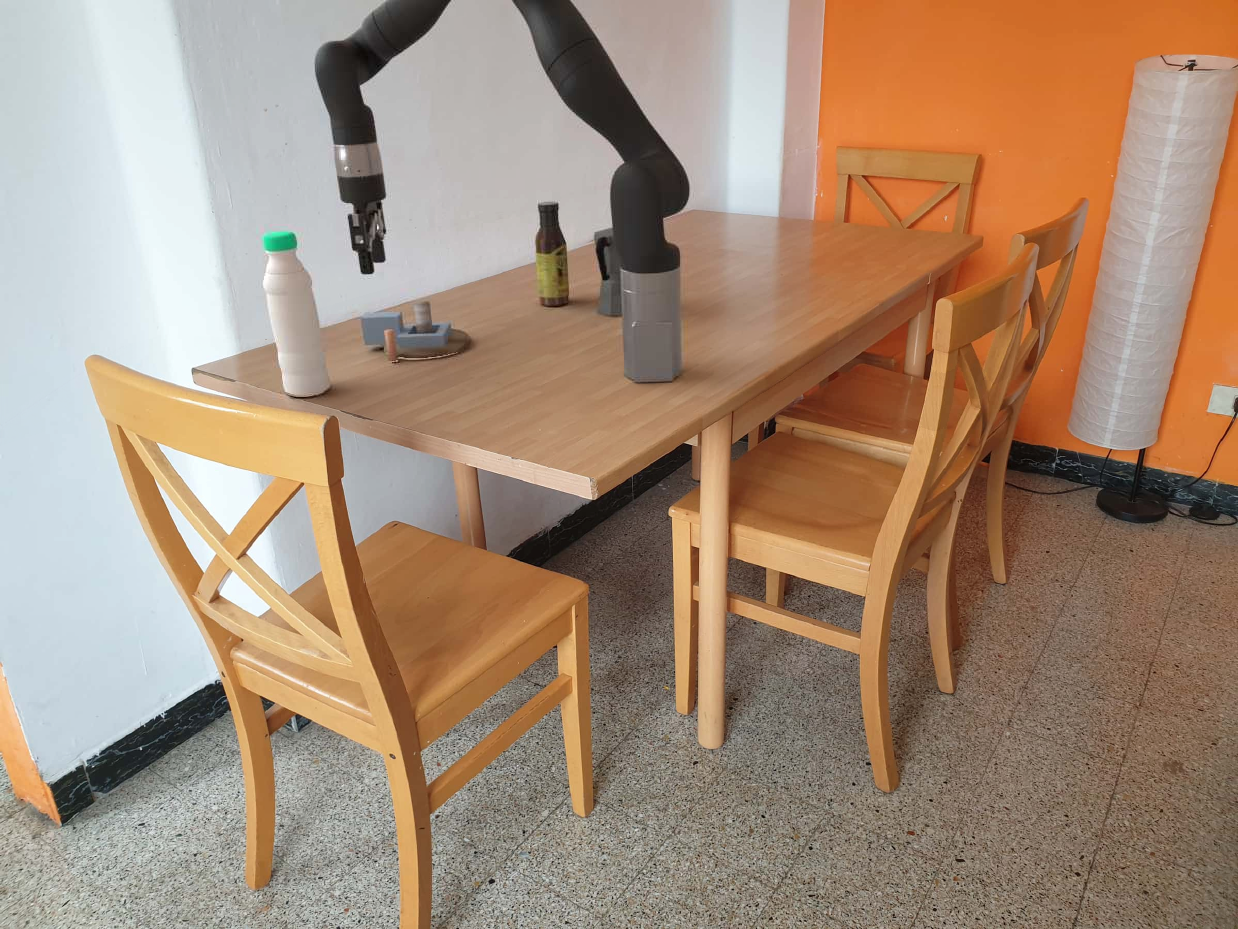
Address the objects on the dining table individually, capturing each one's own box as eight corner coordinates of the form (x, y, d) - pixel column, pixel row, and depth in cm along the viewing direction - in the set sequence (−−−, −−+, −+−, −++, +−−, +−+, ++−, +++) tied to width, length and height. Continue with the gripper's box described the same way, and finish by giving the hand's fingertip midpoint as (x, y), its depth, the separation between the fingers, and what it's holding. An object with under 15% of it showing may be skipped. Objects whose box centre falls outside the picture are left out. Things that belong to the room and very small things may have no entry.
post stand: (462, 358, 164) (457, 313, 160) (375, 361, 164) (368, 316, 161) (475, 332, 177) (470, 290, 174) (394, 335, 178) (388, 293, 174)
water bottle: (314, 380, 157) (285, 226, 146) (340, 389, 153) (312, 231, 142) (276, 393, 152) (243, 235, 141) (301, 402, 148) (270, 240, 137)
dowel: (397, 362, 163) (392, 331, 161) (387, 363, 163) (383, 332, 161) (399, 359, 165) (394, 329, 162) (390, 360, 165) (385, 329, 162)
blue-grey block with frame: (451, 332, 174) (448, 305, 172) (444, 346, 167) (440, 318, 164) (372, 335, 174) (368, 309, 172) (361, 349, 167) (357, 321, 165)
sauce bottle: (565, 307, 190) (558, 206, 182) (535, 307, 192) (527, 206, 183) (573, 298, 196) (567, 200, 188) (544, 298, 197) (536, 200, 189)
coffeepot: (612, 299, 194) (608, 209, 187) (655, 303, 191) (653, 211, 183) (579, 320, 182) (573, 225, 174) (624, 325, 178) (620, 227, 170)
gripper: (372, 176, 153) (386, 277, 159) (391, 164, 165) (403, 257, 172) (325, 178, 153) (341, 278, 160) (348, 166, 166) (362, 259, 172)
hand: (373, 267), depth 166 cm, fingers open, 8 cm apart
